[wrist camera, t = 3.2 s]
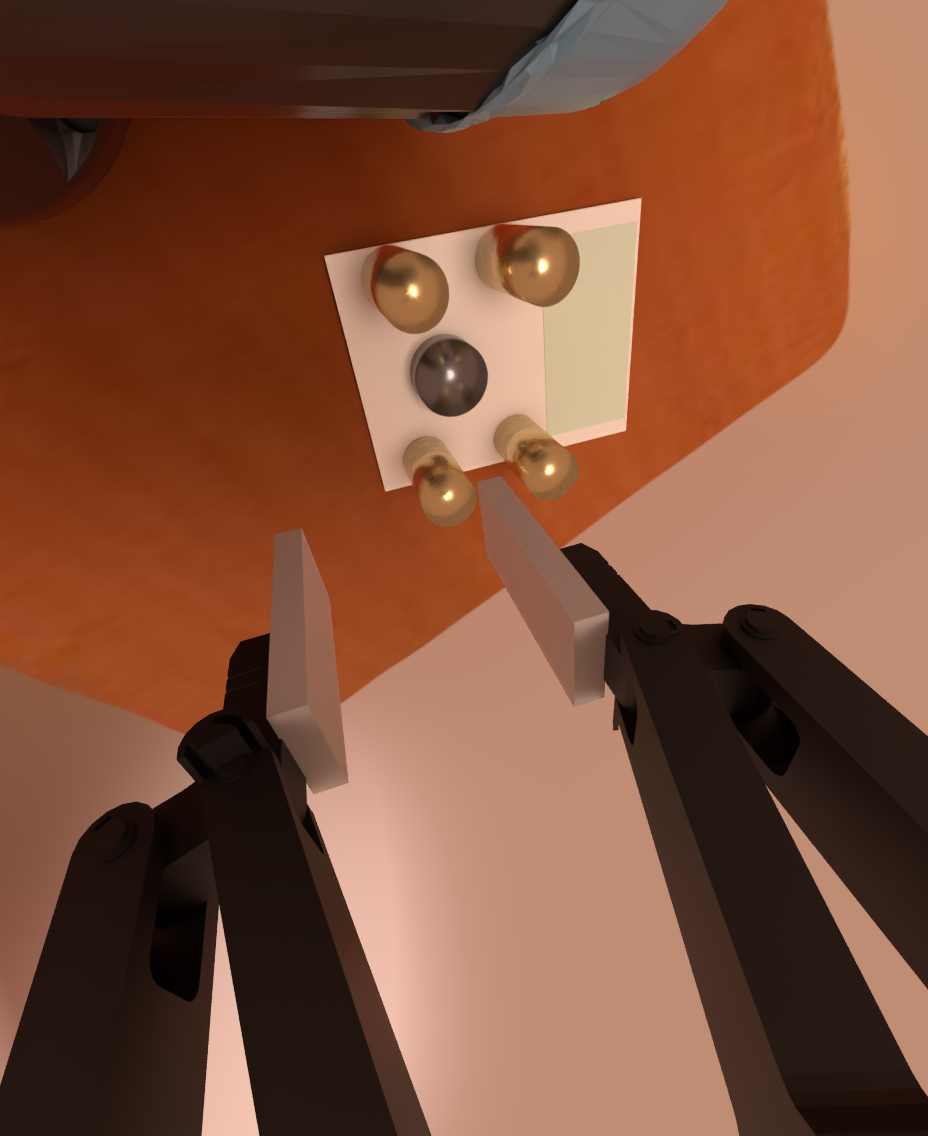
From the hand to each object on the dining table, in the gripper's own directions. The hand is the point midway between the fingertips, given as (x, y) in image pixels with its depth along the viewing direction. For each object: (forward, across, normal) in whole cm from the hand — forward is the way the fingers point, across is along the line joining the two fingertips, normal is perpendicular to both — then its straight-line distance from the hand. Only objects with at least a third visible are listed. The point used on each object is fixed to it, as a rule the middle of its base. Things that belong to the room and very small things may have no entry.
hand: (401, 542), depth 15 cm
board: (+17, +9, 0) cm, 19 cm away
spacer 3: (+16, +10, +5) cm, 20 cm away
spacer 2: (+16, +4, -5) cm, 17 cm away
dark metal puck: (+16, +6, 0) cm, 17 cm away
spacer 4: (+16, +10, -5) cm, 20 cm away
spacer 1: (+16, +4, +5) cm, 17 cm away
